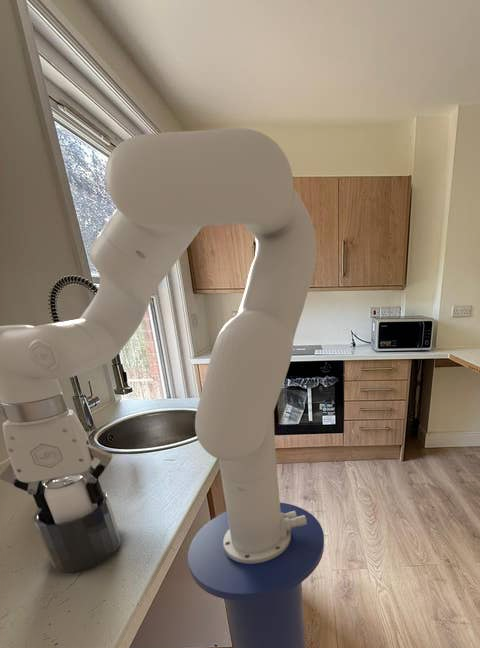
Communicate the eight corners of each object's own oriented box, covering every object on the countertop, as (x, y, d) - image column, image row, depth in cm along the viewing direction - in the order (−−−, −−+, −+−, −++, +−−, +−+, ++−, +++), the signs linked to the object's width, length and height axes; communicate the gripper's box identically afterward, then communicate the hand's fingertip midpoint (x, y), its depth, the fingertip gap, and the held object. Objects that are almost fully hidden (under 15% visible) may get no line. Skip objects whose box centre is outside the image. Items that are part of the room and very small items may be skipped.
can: (91, 521, 68) (72, 467, 63) (113, 530, 65) (94, 474, 60) (56, 542, 62) (32, 485, 58) (77, 552, 60) (54, 493, 55)
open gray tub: (124, 526, 71) (111, 484, 68) (116, 562, 62) (101, 516, 58) (62, 540, 68) (45, 497, 64) (44, 580, 59) (23, 532, 55)
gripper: (-48, 425, 48) (3, 530, 55) (95, 406, 54) (125, 504, 61) (-21, 409, 55) (21, 505, 61) (104, 394, 60) (130, 483, 67)
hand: (73, 503), depth 61 cm, fingers closed on can, 6 cm apart
